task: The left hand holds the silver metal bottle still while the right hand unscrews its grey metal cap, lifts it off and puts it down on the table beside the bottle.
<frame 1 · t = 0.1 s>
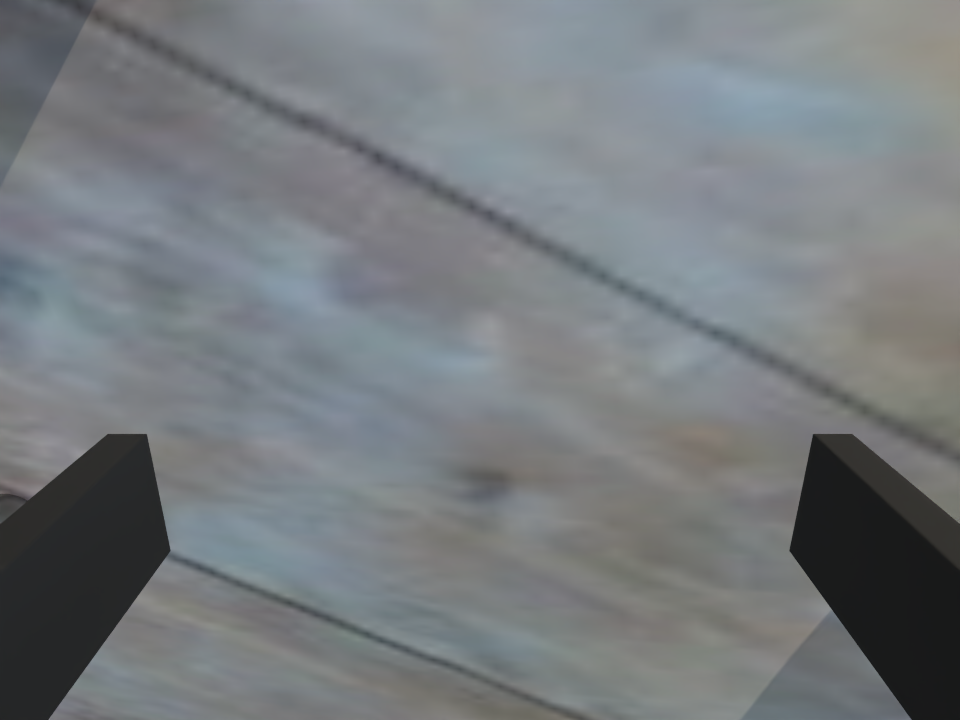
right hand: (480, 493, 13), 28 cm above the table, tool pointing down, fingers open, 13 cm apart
bottle: (12, 524, 46), on the table
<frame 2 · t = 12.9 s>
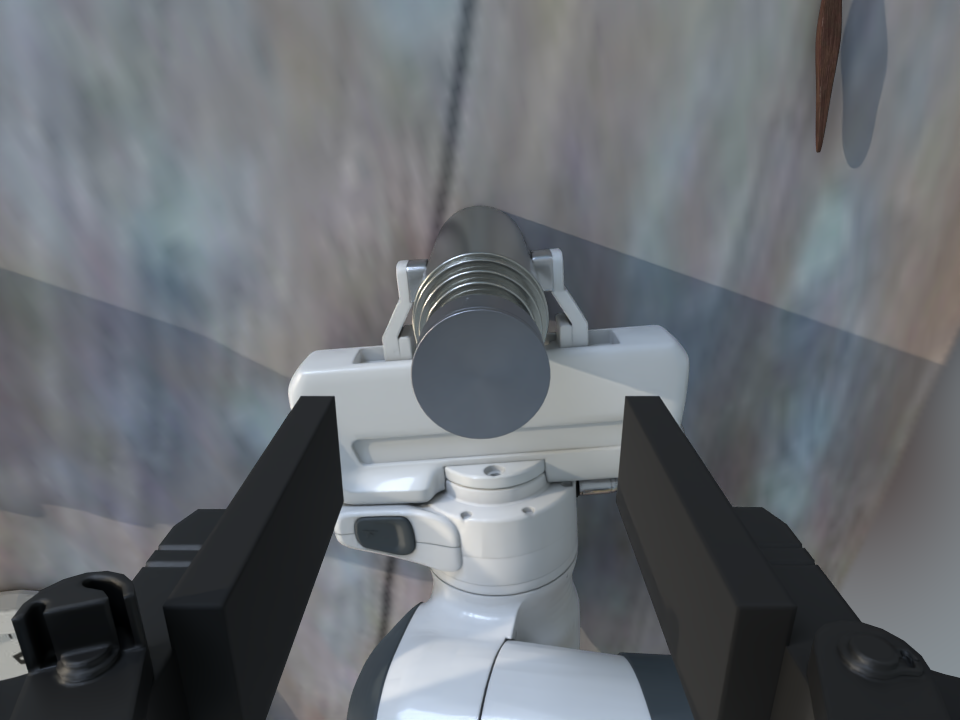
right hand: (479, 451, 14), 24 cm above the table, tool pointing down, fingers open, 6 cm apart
left hand: (477, 256, 31), fingers closed on bottle, 5 cm apart
cap: (480, 373, 19), point 19 cm above the table, screwed on, not yet turned
bottle: (480, 251, 37), on the table, touching left hand
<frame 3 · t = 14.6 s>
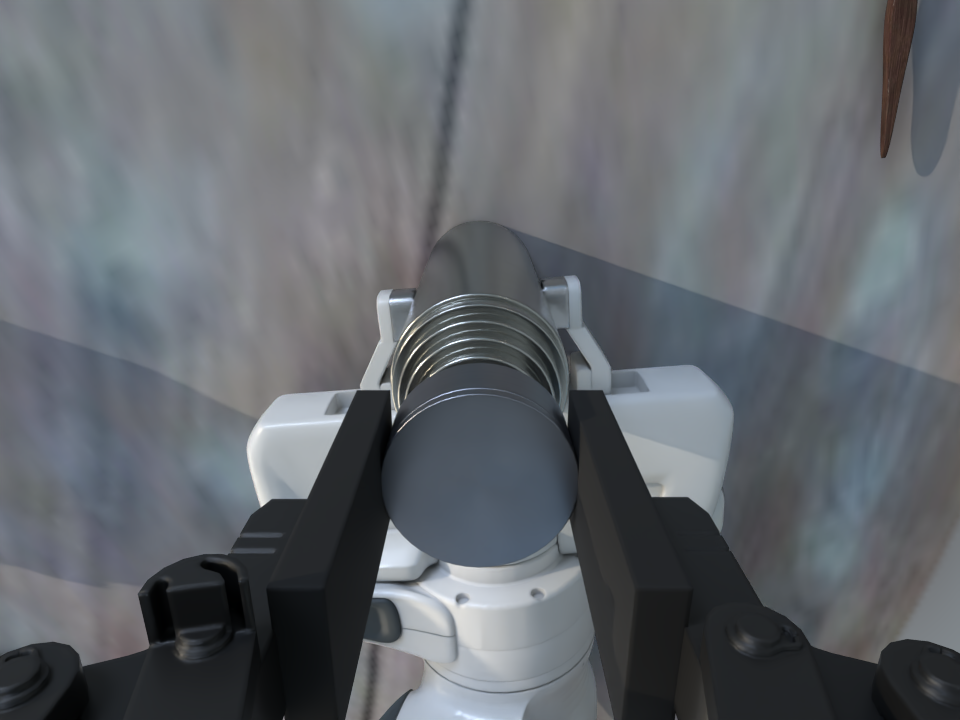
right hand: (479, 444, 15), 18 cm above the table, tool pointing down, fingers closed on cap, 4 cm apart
cap: (479, 478, 13), point 19 cm above the table, screwed on, not yet turned, touching right hand
bottle: (479, 273, 31), on the table, touching left hand
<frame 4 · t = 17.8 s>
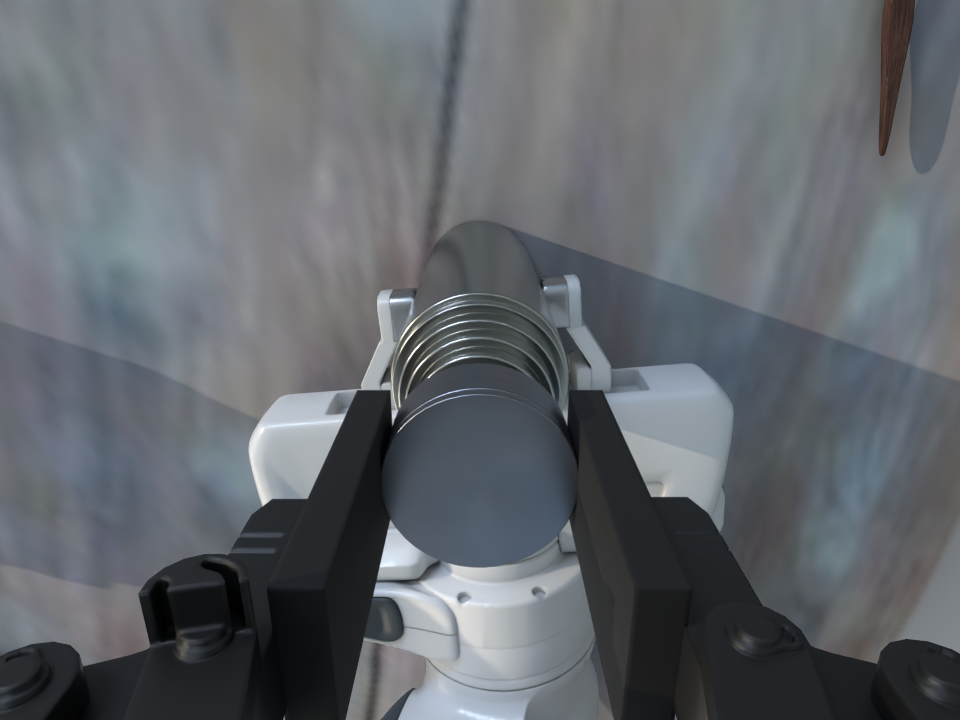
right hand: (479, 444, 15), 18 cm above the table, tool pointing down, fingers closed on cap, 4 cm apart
cap: (479, 478, 13), point 19 cm above the table, turned 108° so far, risen 0.1 cm, still on its thread, touching right hand
bottle: (479, 273, 31), on the table, touching left hand
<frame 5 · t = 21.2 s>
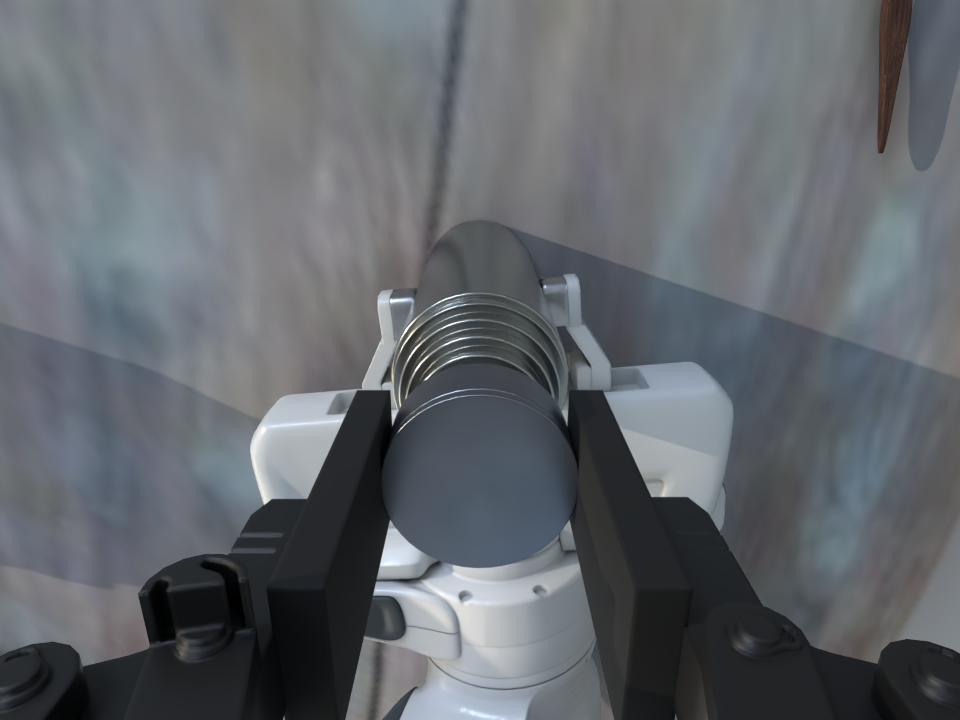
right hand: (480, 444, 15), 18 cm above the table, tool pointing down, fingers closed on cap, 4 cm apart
cap: (479, 478, 13), point 19 cm above the table, turned 216° so far, risen 0.2 cm, still on its thread, touching right hand
bottle: (479, 273, 32), on the table, touching left hand
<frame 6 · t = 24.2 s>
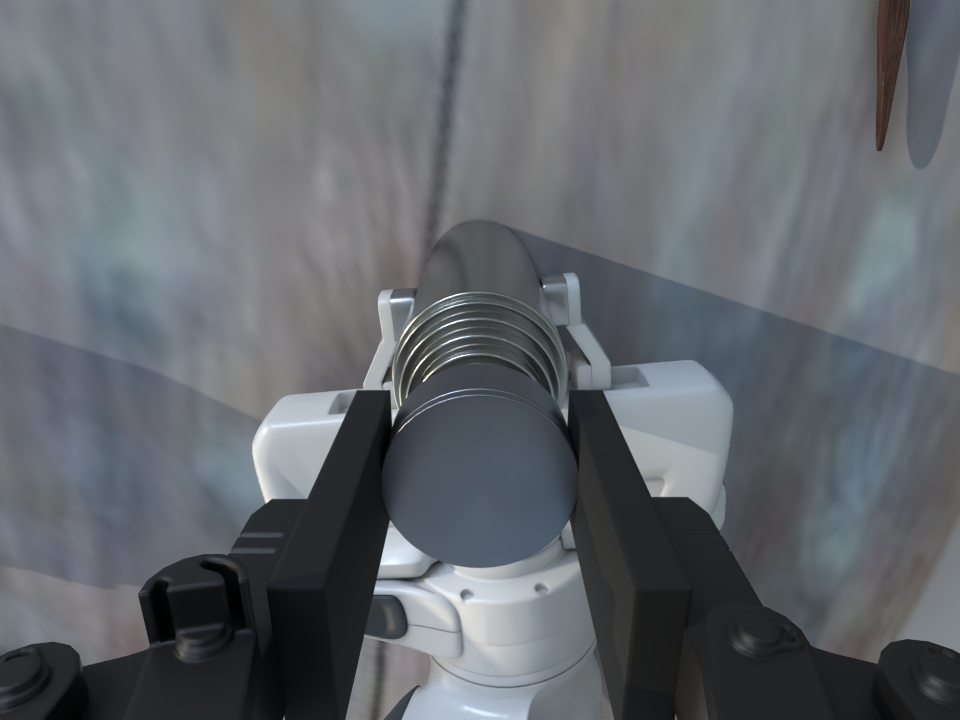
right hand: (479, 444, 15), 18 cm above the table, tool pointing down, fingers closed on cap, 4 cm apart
cap: (479, 478, 13), point 20 cm above the table, turned 324° so far, risen 0.3 cm, still on its thread, touching right hand
bottle: (479, 272, 32), on the table, touching left hand
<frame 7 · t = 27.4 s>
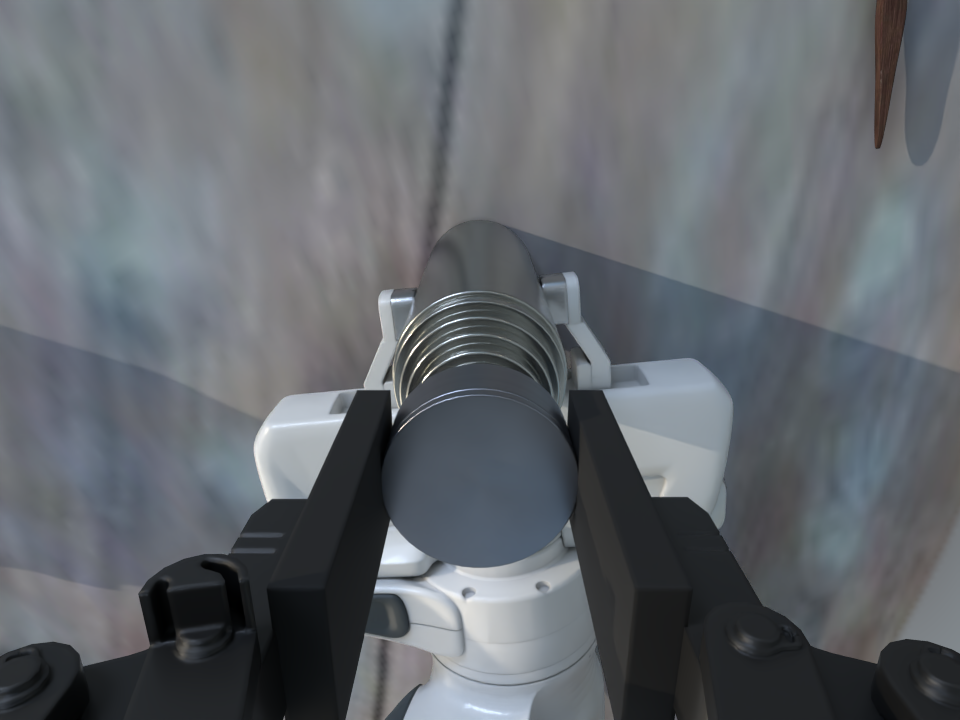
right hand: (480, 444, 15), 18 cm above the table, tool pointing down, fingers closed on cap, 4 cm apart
cap: (479, 478, 13), point 20 cm above the table, turned 432° so far, risen 0.4 cm, still on its thread, touching right hand
bottle: (479, 272, 32), on the table, touching left hand
when the right hand's fingers open (1 cm above the table, at t = 34.1 s): cap drops 1 cm, point 1 cm above the table.
when the left hand's fingers open (6 cm above the table, at t = 35.4 s): bottle stays where it is, on the table.
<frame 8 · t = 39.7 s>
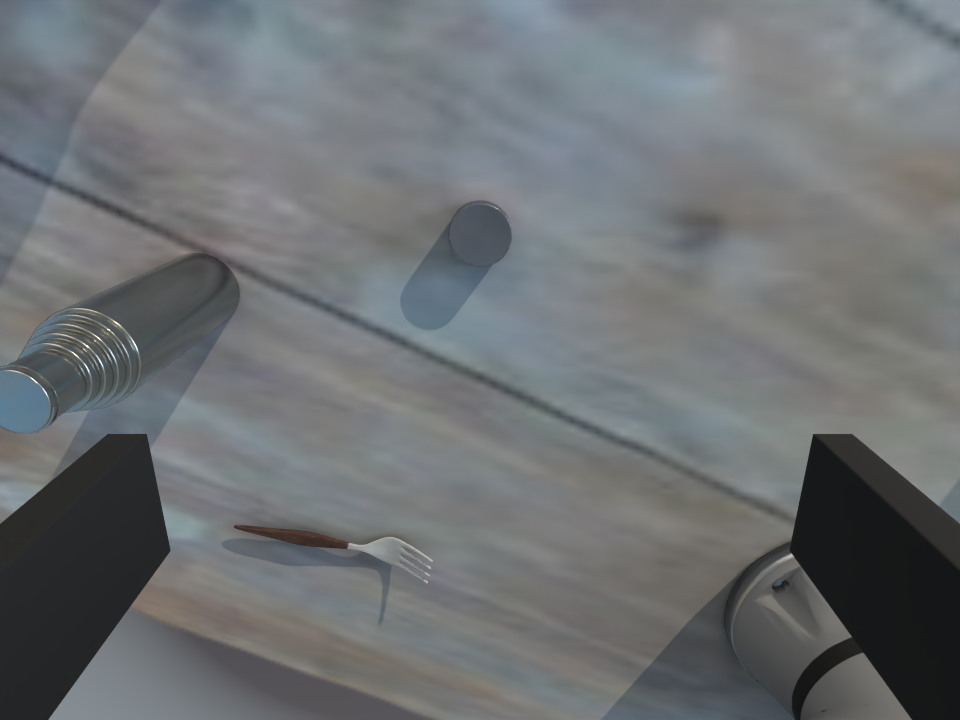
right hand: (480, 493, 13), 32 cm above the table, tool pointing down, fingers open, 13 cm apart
cap: (480, 235, 42), point 1 cm above the table, off its thread
bottle: (202, 289, 45), on the table
fork: (335, 538, 52), on the table
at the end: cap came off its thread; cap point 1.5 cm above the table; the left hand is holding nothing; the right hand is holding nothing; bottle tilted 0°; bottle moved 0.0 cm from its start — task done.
